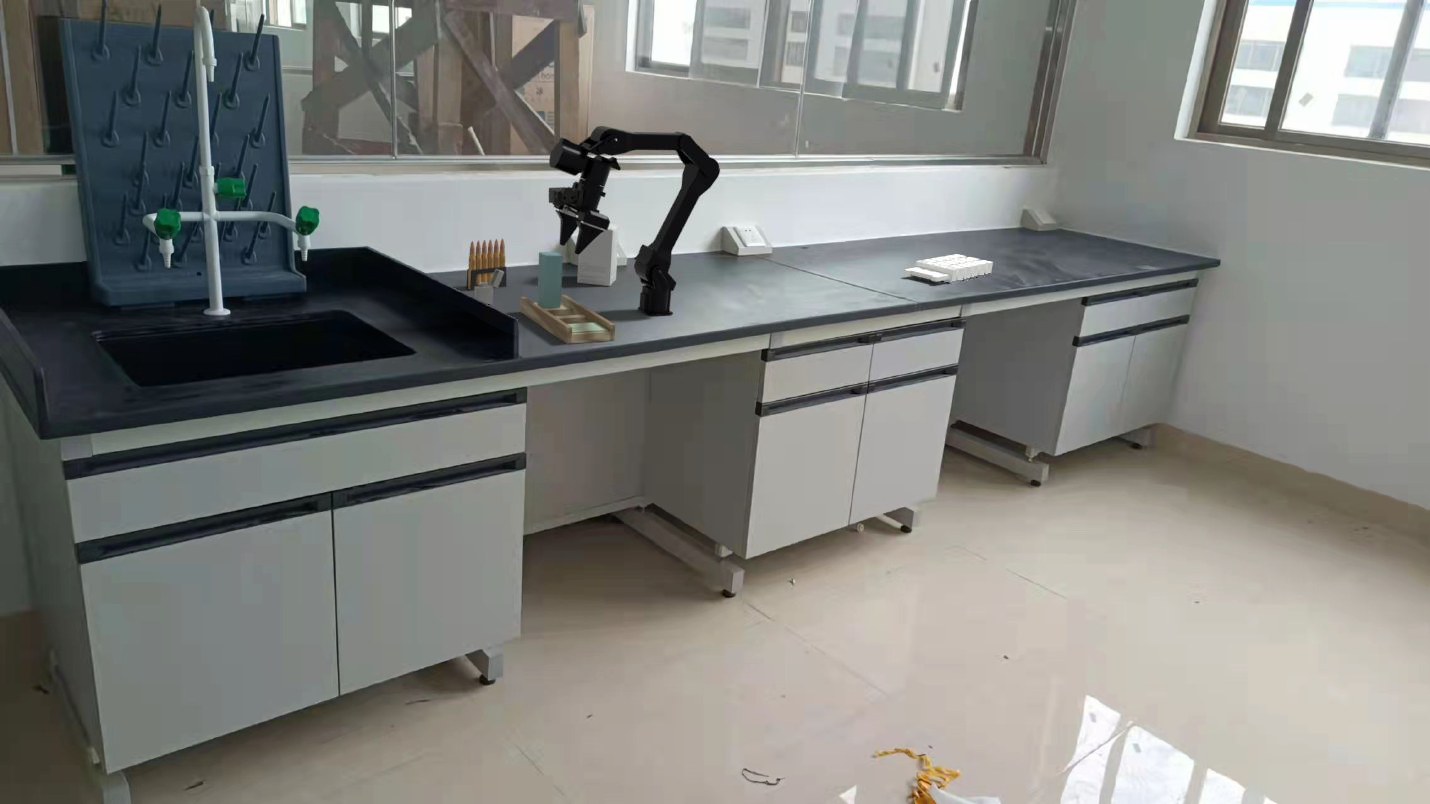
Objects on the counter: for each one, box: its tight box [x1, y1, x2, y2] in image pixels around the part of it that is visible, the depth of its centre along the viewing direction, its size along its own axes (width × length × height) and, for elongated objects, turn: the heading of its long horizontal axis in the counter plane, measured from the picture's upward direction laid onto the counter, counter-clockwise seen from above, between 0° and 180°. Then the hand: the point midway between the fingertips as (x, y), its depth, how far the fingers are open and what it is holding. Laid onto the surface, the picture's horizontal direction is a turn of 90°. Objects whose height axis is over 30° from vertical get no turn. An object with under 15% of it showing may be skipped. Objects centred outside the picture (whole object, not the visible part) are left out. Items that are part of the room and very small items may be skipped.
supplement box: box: [576, 223, 620, 287], centre depth 262 cm, size 9×9×15 cm
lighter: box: [473, 269, 504, 306], centre depth 231 cm, size 7×2×8 cm, turn 138°
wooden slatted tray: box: [519, 294, 616, 345], centre depth 221 cm, size 11×26×4 cm, turn 32°
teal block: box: [536, 251, 564, 309], centre depth 226 cm, size 4×4×12 cm
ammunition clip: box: [466, 238, 508, 292], centre depth 245 cm, size 11×2×12 cm, turn 138°
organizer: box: [903, 253, 994, 282], centre depth 317 cm, size 13×5×35 cm
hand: (569, 249), depth 223 cm, fingers open, 9 cm apart
